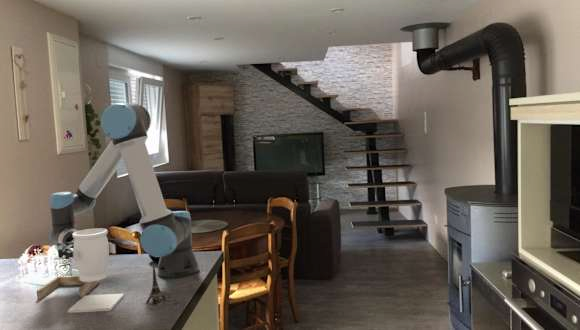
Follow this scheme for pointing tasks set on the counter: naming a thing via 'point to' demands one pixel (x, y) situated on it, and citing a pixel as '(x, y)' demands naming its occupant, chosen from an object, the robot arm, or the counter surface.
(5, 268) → the counter surface
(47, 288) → the oak cradle
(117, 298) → the ceramic tile
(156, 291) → the eiffel tower figurine
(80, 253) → the jar
